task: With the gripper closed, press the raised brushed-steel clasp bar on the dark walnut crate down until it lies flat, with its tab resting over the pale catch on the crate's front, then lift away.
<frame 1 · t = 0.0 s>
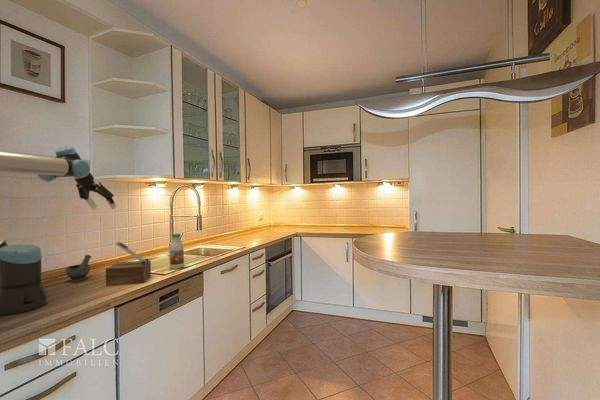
hand: (104, 207, 158), 36 cm above the counter, tool tilted 35°, fingers open, 13 cm apart
mortar and pestle: (79, 280, 145), on the counter
clasp bar: (131, 252, 144), point 14 cm above the counter, hinge at 40.0°
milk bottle: (176, 268, 168), on the counter
crate: (129, 280, 144), on the counter
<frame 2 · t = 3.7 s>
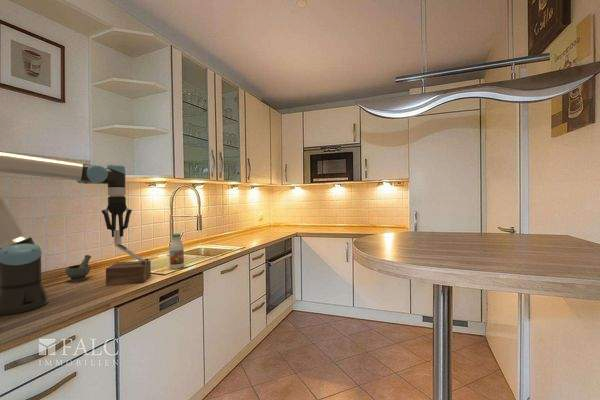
hand: (117, 243, 142), 19 cm above the counter, tool pointing down, fingers closed
clasp bar: (131, 253, 144), point 13 cm above the counter, hinge at 36.8°, touching gripper
everything else where it was.
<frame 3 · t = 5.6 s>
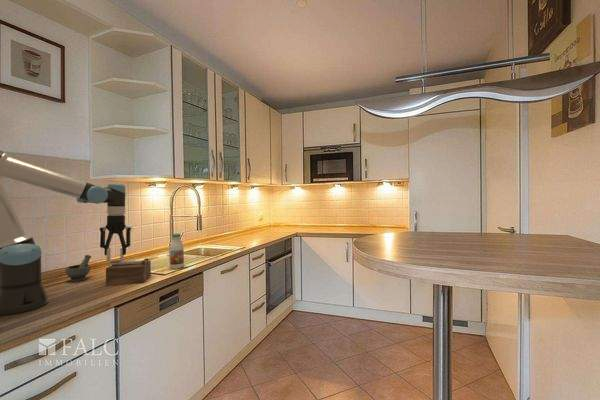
hand: (115, 261, 142), 10 cm above the counter, tool pointing down, fingers closed on clasp bar, 5 cm apart
clasp bar: (128, 262, 143), point 9 cm above the counter, hinge at 1.5°, touching gripper
everything else where it was.
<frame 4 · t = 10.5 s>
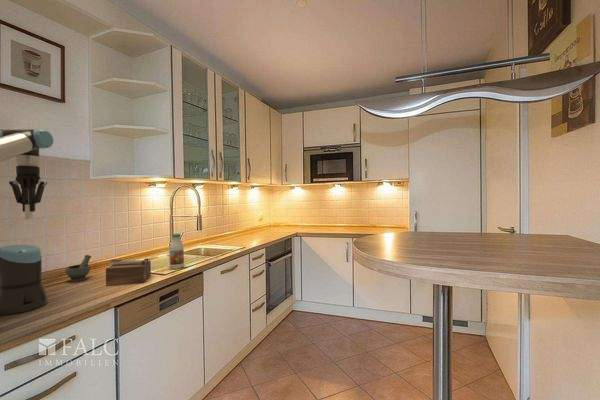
hand: (29, 219, 126), 32 cm above the counter, tool pointing down, fingers closed
clasp bar: (128, 261, 143), point 9 cm above the counter, hinge at 4.1°
everything else where it was.
at the end: clasp bar at +4° (first picture: +40°); mortar and pestle moved 0.2 cm from its start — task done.
